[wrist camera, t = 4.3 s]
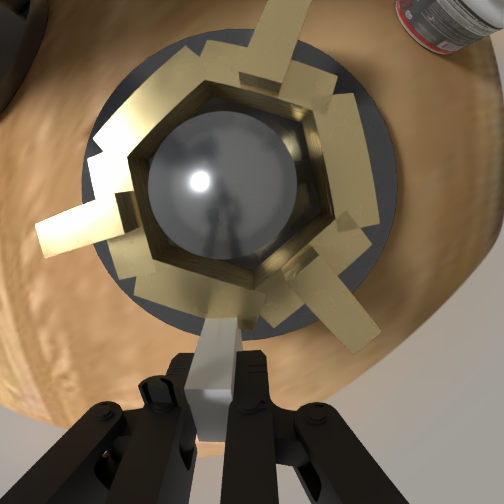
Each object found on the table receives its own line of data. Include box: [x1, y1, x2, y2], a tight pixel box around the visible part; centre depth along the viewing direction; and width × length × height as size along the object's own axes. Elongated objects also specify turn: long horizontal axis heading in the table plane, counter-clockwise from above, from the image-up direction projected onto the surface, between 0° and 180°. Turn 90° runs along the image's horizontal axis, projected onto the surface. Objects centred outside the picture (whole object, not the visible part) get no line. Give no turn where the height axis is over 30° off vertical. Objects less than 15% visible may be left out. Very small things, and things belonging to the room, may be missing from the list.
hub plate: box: [82, 29, 398, 341], centre depth 15 cm, size 18×18×2 cm
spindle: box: [148, 111, 297, 259], centre depth 12 cm, size 5×5×8 cm
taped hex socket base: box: [35, 0, 382, 355], centre depth 12 cm, size 15×16×4 cm
